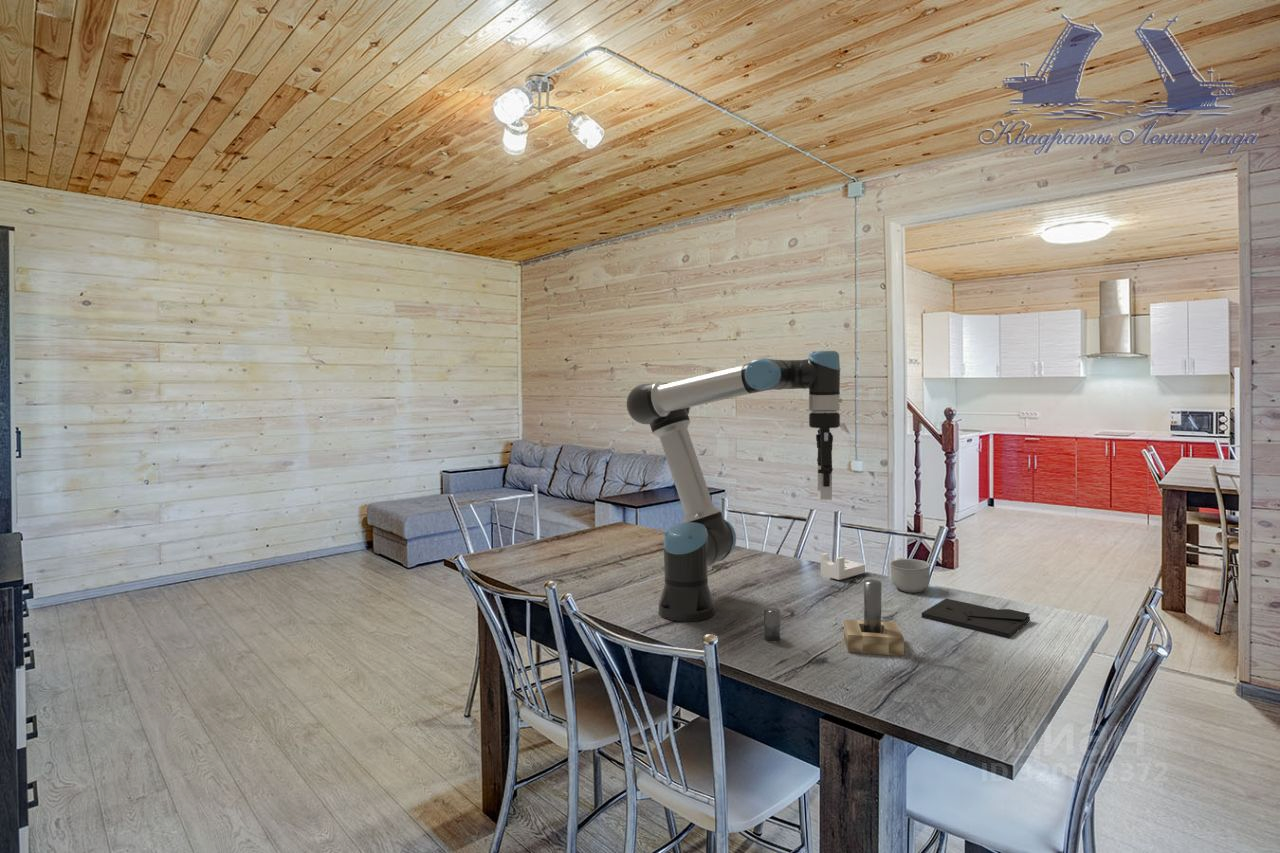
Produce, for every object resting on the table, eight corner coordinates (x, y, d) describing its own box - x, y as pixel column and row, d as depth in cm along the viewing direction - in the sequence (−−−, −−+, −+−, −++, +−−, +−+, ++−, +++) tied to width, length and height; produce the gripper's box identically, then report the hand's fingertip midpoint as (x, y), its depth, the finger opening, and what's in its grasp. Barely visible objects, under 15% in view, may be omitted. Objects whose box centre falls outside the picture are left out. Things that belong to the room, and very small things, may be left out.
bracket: (839, 582, 203) (839, 558, 203) (820, 577, 209) (820, 554, 209) (865, 575, 211) (865, 552, 210) (846, 570, 217) (846, 547, 216)
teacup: (933, 596, 188) (933, 568, 188) (893, 594, 191) (893, 567, 190) (922, 581, 202) (923, 556, 202) (885, 580, 204) (885, 555, 204)
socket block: (847, 651, 150) (847, 634, 150) (843, 635, 160) (844, 619, 160) (903, 655, 148) (903, 638, 148) (896, 638, 158) (896, 622, 157)
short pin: (764, 641, 157) (763, 612, 157) (764, 635, 161) (764, 607, 161) (780, 642, 157) (780, 613, 156) (780, 636, 160) (780, 608, 160)
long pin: (864, 647, 153) (865, 584, 152) (863, 641, 156) (863, 579, 155) (882, 648, 152) (882, 584, 151) (879, 642, 156) (880, 579, 155)
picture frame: (1029, 624, 167) (945, 605, 182) (1030, 613, 167) (946, 595, 182) (1008, 642, 157) (921, 620, 172) (1009, 630, 156) (921, 609, 171)
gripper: (844, 414, 154) (844, 503, 156) (836, 409, 179) (835, 487, 180) (811, 414, 156) (811, 503, 157) (807, 410, 180) (807, 487, 182)
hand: (824, 495), depth 169 cm, fingers open, 13 cm apart
